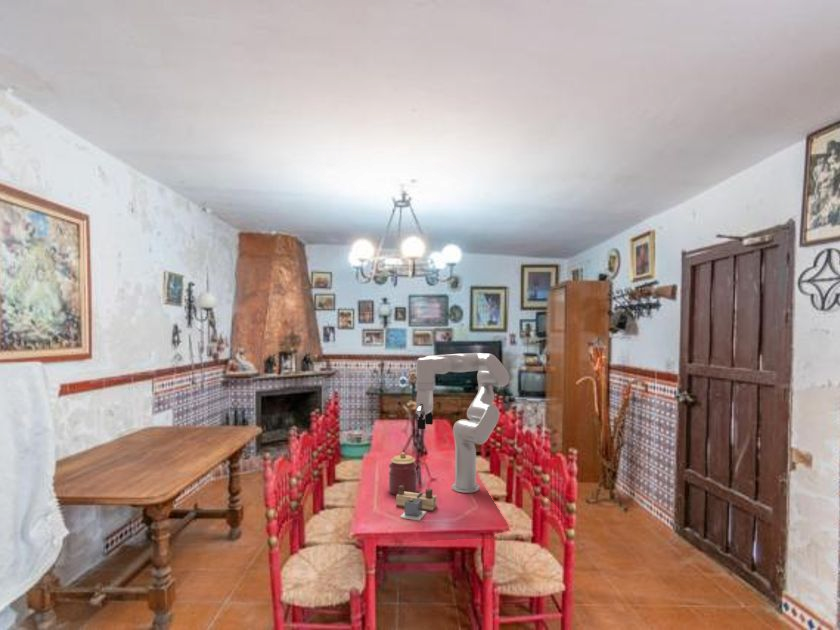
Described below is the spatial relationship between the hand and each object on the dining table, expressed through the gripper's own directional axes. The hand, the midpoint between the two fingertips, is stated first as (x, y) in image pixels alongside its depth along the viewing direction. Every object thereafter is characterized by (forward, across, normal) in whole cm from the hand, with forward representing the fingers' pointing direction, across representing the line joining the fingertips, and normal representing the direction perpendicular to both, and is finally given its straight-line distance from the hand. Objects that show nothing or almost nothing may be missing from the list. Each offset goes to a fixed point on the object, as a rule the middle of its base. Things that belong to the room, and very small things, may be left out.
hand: (425, 426), depth 200 cm
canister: (+32, -9, -14) cm, 37 cm away
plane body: (+32, +6, -2) cm, 33 cm away
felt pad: (+32, +14, 0) cm, 35 cm away
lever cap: (+32, +14, 0) cm, 35 cm away
